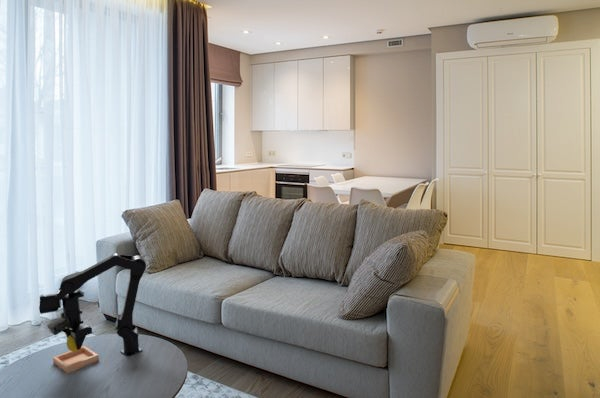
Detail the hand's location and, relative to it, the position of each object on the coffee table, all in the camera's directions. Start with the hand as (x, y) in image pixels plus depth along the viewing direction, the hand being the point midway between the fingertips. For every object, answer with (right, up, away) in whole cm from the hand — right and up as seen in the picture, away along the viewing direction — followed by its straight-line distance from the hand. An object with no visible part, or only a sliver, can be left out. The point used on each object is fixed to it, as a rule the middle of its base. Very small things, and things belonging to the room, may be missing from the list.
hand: (75, 347), depth 170 cm
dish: (0, -6, +1) cm, 6 cm away
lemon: (0, -2, 0) cm, 2 cm away
